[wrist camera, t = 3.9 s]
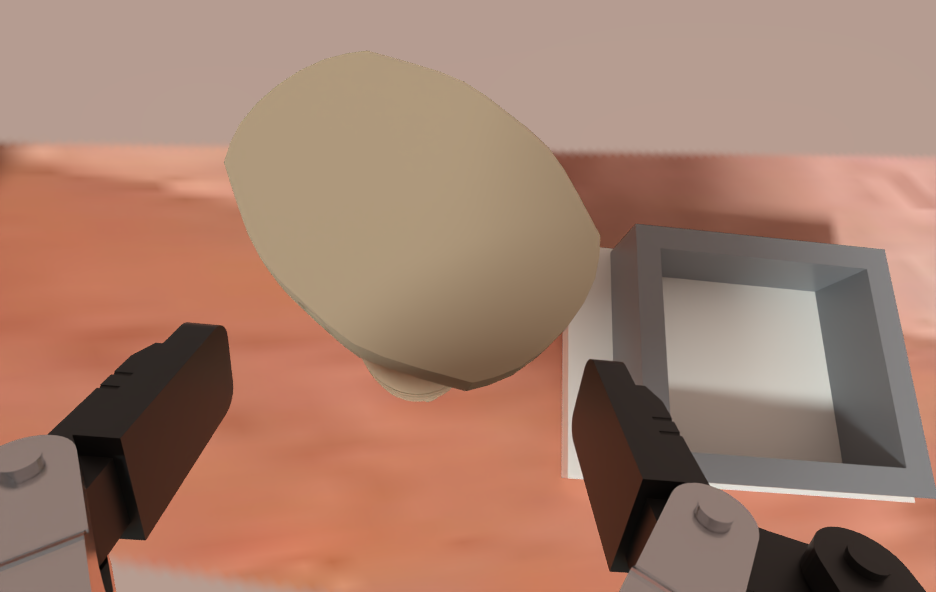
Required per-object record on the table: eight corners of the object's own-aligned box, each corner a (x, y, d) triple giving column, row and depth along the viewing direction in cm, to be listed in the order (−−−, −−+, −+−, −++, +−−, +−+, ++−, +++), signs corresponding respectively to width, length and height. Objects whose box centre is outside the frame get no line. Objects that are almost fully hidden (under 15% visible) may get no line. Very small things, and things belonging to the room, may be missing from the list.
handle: (402, 282, 24) (375, 10, 10) (507, 374, 23) (652, 224, 9) (326, 359, 22) (161, 172, 8) (435, 460, 21) (465, 450, 7)
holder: (561, 477, 22) (591, 480, 18) (563, 252, 25) (588, 214, 21) (894, 501, 22) (990, 508, 19) (852, 281, 26) (926, 249, 22)
